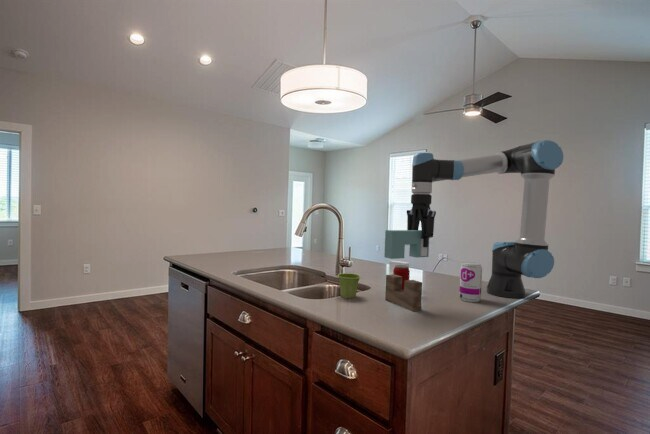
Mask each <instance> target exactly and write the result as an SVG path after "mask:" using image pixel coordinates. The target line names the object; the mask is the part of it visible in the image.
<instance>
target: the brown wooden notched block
mask: <svg viewBox="0 0 650 434" xmlns="http://www.w3.org/2000/svg"><path fill="white" fill-rule="evenodd" d="M422 297H423V282H422V281H419V280H416V279H415V280H414V279H409V280H405V281H404V290H402V276H398V275H395V274H392V275H389V274H386V275H385V297H384V298H385V301H387V302H389V303H392V304H394V305H396V306H399V307H401V308H404V309H406V310H409V311H411V312H417V311H421V310H422V304H423V303H422V301H423V300H422Z"/></svg>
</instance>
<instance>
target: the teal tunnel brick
mask: <svg viewBox="0 0 650 434" xmlns="http://www.w3.org/2000/svg"><path fill="white" fill-rule="evenodd" d="M384 233H385V235H384V237H385V238H384V255H383V258H386V259H391V260H393V259H398V260H399V259H405V253H406V252H405V250H406V248H405V247H406V246H408V245H409V254H408V256H409V257H412V258H417V259H418V258H429V253H430V239H429V240H428V247H427V256H420V245H421V239H422V238H421V237H422V229H418V230H407V229H405V230H404V229H402V230H401V229H398V230H397V229H394V230H393V229H391V230H388V229H386V230H385V232H384Z"/></svg>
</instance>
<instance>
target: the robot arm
mask: <svg viewBox="0 0 650 434" xmlns="http://www.w3.org/2000/svg"><path fill="white" fill-rule="evenodd" d="M563 162H564V152H563V149H562V147H561V146H559V144H558V143H557V142H555V141H554V140H549V139H546V140H538V141H535V142H531V143H527V144H523V145H519V146H516V147H513V148H509V149H507V150H503V151H497V152H496V153H494V154H492V155H485V156H477V157H471V158H470V157H469V158H465V159H459V160H458V159H457V160H454V159H451V160H450V159H436V158H434V154H433V153H431V152H417V153H414V155H413V157H412V165H411V168H412V172H411V173H412V174H411V193H412V194H411V195H410V203H411V205H412V207H411V209H407V210H406V216H407V217H406V218H407V222H406V223H407V226H406V230H419V227H420V228H421V230H422V237H421V238H422V239H421V245H420V256H427V247H428V240H429V241H430V239H431V238H433V237H434V229H435V217H436V214H437V212H436V210H432V209H431V207H430V205H432V195H431V194H432V193H433V183H435V182H441V181H446V180H447V181H459V180H460V179H462V178H467V177H475V176H481V175H487V174H493V173H497V174H499V175H501V174H502V175H503V174H520V177H521V178H523V180H524V181H523V182H524V183H523V185H524V186H523V193H522V195H523V196H522V205H521V207H522V208H521V217H520V230H519V238H518V239H517V240H515V241H499V242H494V243H493V245H492V250H491V252H492V253H491V254H492V257H491V260H492V261H491V276H490V278H489V280H488V284H487V286H486V292H487V294H491V295H493V296H497V297H502V298H510V299H511V298H512V299H522V298H525V297H526V290H525V287H524V282H523V280H522V279H523V278H522V276H525V277H527V278H534V279H542V278H544V277H546V276H547V275H549V274H550V273H551V272H552V271H553V269H554V266H555V258H554V256H553V254H552V252H550V251H549V244H548V242H546V240H545V238H546V237H545V235H546V225H547V212H548V201H549V189H550V181H551V179H553V178H554V177H555V174H556V169H558V168H559V167H560V166H561V165H562V164H563Z"/></svg>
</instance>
